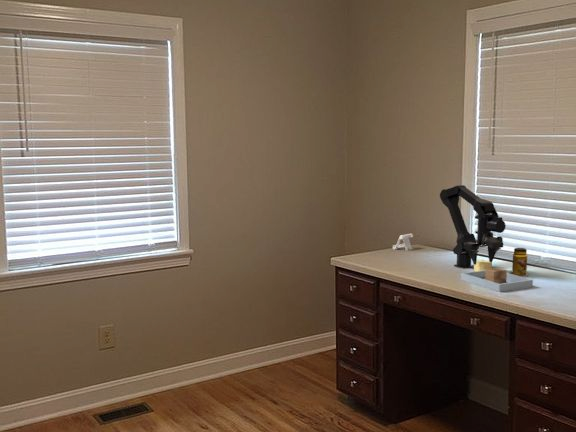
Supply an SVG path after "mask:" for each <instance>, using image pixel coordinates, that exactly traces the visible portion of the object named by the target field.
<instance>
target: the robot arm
mask: <svg viewBox="0 0 576 432" xmlns="http://www.w3.org/2000/svg"><path fill="white" fill-rule="evenodd" d="M460 197H461V198H462V199H463V200H465V201H466V202H467V203H469V204H470V205H471V206H472V207H473V210H474V212H475V213H476V214H477V215H476V216H474V219H477V230H475V233H470V232H469V230H468V229H467V228H468V227H467V226H466V225H467V224H466V222H465V219H464V217H463V214H462V212H461V209H460V205H459V201H460ZM439 198H440V200H441V202H442V204H443V205H444V206H445V207H446V208H447V209H448V212H449V215H450V217H451V220H452V222H453V226H454V229H455V231H456V234H457V237H456V245H455V246H454V247H453V248H452V252H453V254H454V255H456V264H454V265H453V267H458V268H460V269H467V268H474V265H476V262H477V261H478V260H477V258H478V253H479V252H480V251H479V248H486V247H487V252H488V253H487V254H488V261H489V262H492V263H493V260H494V258H495V256H496V255H497V252H498V251H499V250H501V249H502V248H504V241H503V239H504V238H503V237H502V236H494V233H499V234H501V233H503V232H504V231H505V230H506V226H507V225H506V223H505V221H504V220H503V217H501V216H499V214H498V212H497V210H496V208H495V205H494V203H493V202H492V201H490V200H488V199H484V198H481V197H480V196H478V195H477V194H476V193H474V192H472V191H471V190H470V189H468V188H467V186H465V185H464V184H463V185H461V184H460V185H459V184H458V185H455V186H453V187H449V188H444V189H443V188H442V190H440V193H439ZM475 234H476V237H477V238H476V237H475ZM472 263H473V265H472Z"/></svg>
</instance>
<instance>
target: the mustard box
mask: <svg viewBox="0 0 576 432" xmlns="http://www.w3.org/2000/svg"><path fill="white" fill-rule="evenodd" d="M492 267H493V261H492V262H489V260H484V259H479V260H477V262H476V265H474V264H473V272H474V271H482V270H486V269H493V268H492Z"/></svg>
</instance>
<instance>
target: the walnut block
mask: <svg viewBox="0 0 576 432" xmlns="http://www.w3.org/2000/svg"><path fill="white" fill-rule="evenodd" d="M507 273H508V270H507V269H504V268H500V267H496V268H495V267H493V268H492V269H486V272H485V277H484V279H485V280H488V281H492V282H495V283H498V284H502V283H507V280H506V278H507Z"/></svg>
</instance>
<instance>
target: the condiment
mask: <svg viewBox="0 0 576 432" xmlns="http://www.w3.org/2000/svg"><path fill="white" fill-rule="evenodd" d="M513 249H514V250H513V254H512V271H507V273H509V274H513V275H517V276H520V277H524V278H527V277H528V275H529V273H527V270H528V269H527V268H528V255H527V254H528V253H527V251H528V250H527V248H525V247H515V248H513Z"/></svg>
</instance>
